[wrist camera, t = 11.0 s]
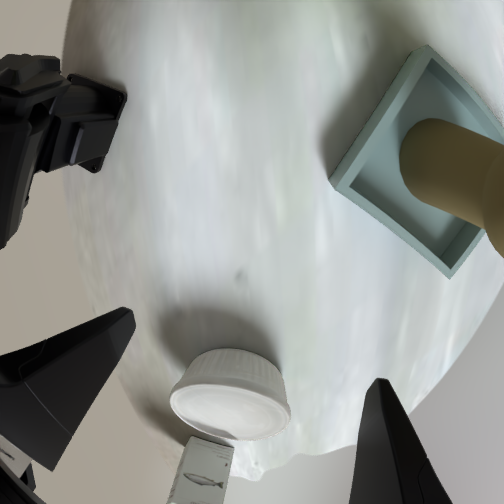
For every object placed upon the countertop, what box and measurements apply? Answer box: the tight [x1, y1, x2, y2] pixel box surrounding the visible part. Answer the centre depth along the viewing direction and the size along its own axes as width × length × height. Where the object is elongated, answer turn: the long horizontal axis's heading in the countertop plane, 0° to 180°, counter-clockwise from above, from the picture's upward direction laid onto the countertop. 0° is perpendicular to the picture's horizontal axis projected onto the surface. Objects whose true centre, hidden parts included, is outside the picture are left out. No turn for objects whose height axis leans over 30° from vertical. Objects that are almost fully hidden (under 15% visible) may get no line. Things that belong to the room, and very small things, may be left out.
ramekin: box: [169, 348, 291, 441], centre depth 24 cm, size 11×11×5 cm
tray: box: [328, 45, 504, 280], centre depth 14 cm, size 11×11×2 cm
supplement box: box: [166, 436, 234, 504], centre depth 32 cm, size 7×7×13 cm
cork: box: [399, 118, 504, 258], centre depth 10 cm, size 6×6×11 cm
